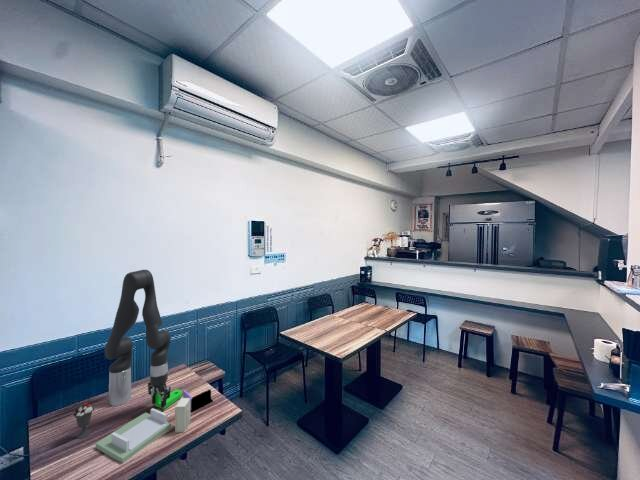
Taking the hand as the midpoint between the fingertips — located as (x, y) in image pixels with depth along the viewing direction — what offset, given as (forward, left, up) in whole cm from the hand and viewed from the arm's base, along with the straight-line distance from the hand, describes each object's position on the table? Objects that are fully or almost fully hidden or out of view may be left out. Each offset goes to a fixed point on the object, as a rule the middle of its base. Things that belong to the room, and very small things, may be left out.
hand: (159, 404), depth 129 cm
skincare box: (+22, -4, -2) cm, 23 cm away
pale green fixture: (+8, -16, -2) cm, 18 cm away
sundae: (-14, -24, -2) cm, 28 cm away
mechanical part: (0, +6, -2) cm, 7 cm away
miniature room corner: (+13, +11, -3) cm, 18 cm away
